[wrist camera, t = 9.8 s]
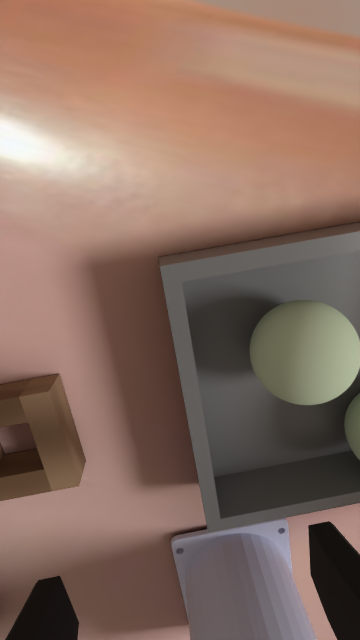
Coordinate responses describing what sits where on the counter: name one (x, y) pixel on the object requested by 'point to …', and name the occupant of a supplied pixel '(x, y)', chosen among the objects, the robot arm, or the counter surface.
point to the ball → (353, 425)
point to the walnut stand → (40, 439)
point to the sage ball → (305, 352)
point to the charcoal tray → (245, 388)
